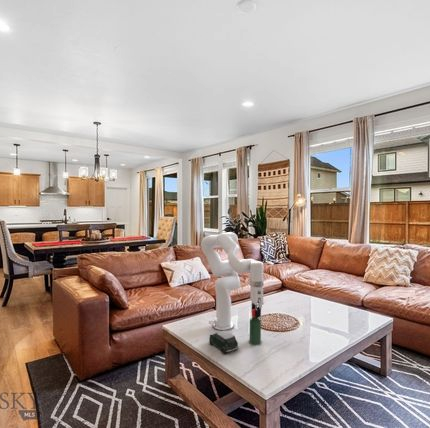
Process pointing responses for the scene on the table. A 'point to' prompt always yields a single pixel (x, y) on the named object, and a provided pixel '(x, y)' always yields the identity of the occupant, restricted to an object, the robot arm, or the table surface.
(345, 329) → the table surface
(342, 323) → the table surface
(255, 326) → the bottle
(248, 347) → the table surface
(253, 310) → the cap
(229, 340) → the miniature car
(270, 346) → the table surface
